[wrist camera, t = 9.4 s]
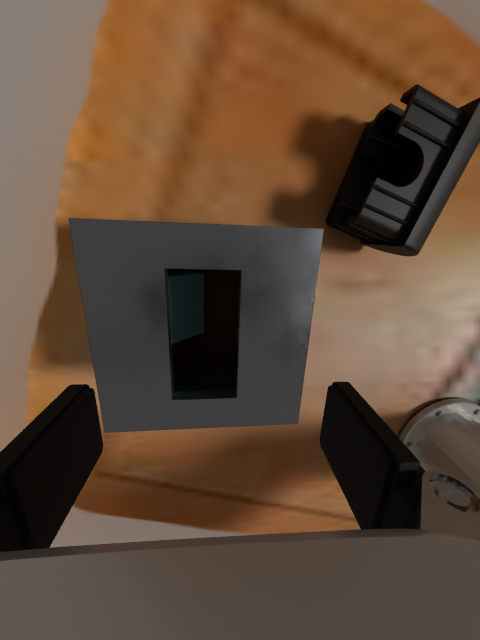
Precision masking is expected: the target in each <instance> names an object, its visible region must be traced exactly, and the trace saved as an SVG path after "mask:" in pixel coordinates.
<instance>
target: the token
mask: <svg viewBox="0 0 480 640" xmlns="http://www.w3.org/2000/svg"><path fill="white" fill-rule="evenodd" d="M167 273H168V291H169V309H170V327H171V344H174V343H177V342H179V341H182V340H185V339H188V338H191V337H194V336H196V335H199V334H202V333H204V273H203V272H198V271H193V270H184V271H174V272H167Z"/></svg>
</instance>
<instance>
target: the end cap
mask: <svg viewBox="0 0 480 640" xmlns="http://www.w3.org/2000/svg"><path fill="white" fill-rule="evenodd" d="M400 101H401V102H403V103H404V104H406V105H407V107H406V109H405V111H403V110H402V109H400V108H398V107H396V106H395V105H393V104H389V105H388V106H386V107H385V108H384V109H382V110H381V111H380V112H379V113H378V114H377V116H376V117H375V119H374V120H373V121H371V122H369V123H368V124H367V125H366V127H365V129H364V131H363V134H362V136H361V138H360V141H359V143H358V145H357V148H356V150H355V152H354V155H353V157H352V159H351V162H350V164H349V166H348V169H347V171H346V173H345V176H344V178H343V180H342V183H341V185H340V187H339V190H338V192H337V195H336V197H335V199H334V202H333V204H332V206H331V209H330V211H329V213H328V216H327V218H326V223H327V225H328V226H330V227H332V228H335V229H337V230H339V231H342V232H344V233H346V234H349V235H351V236H354V237H356V238H358V239H361V242H360V243H361V244H363V245H365V246H368V247H371V248H374V249H377V250H380V251H384V252H388V253H392V254H396V255H402V256H415V255H417V254H419V252H420V250H421V248H422V246H423V245H424V243H425V241H426V239H427V237H428V235H429V234H430V232H431V230H432V228H433V226H434V224H435V223H436V221H437V219H438V217H439V215H440V213H441V212H442V210H443V208H444V206H445V204H446V202H447V201H448V199H449V197H450V195H451V193H452V191H453V190H454V188H455V186H456V184H457V182H458V181H459V179H460V177H461V175H462V173H463V171H464V170H465V168H466V166H467V164H468V162H469V160H470V159H471V157H472V155H473V153H474V151H475V149H476V148H477V146H478V144H479V142H480V98H478V99H476V100H474V101H472V102H470V103H468V104H466V105H464V106H462V107H460V108H456V107H454V106H453V105H451V104H449V103H448V102H446V101H444V100H443V99H441V98H439V97H438V96H436V95H434V94H433V93H431V92H430V91H428V90H426V89H425V88H423V87H421V86H420V85H415V86H414V87H412V88H411V89H410V90H408V91H407V92H406V93H404V94H403V95H402V98H401V100H400Z"/></svg>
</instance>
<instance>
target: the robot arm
mask: <svg viewBox="0 0 480 640" xmlns="http://www.w3.org/2000/svg"><path fill="white" fill-rule="evenodd" d="M320 444H321V448H322V450H323V452H324V454H325V456H326V458H327V460H328V462H329V464H330V466H331V468H332V470H333V472H334V475H335V477H336V479H337V481H338V483H339V485H340V487H341V489H342V491H343V493H344V495H345V497H346V499H347V501H348V503H349V505H350V508H351V510H352V512H353V514H354V516H355V518H356V520H357V522H358V524H359V526H360V528H361V530H338V531H319V532H300V533H281V534H262V535H245V536H229V537H228V536H227V537H211V538H195V539H178V540H160V541H146V542H129V543H114V544H100V545H84V546H69V547H56V548H49V547H50V545H51V544H52V542H53V540H54V538H55V536H56V535H57V533H58V530H59V529H60V527H61V525H62V524H63V522H64V520H65V518H66V516H67V515H68V513H69V511H70V509H71V507H72V506H73V504H74V502H75V500H76V498H77V497H78V495H79V493H80V491H81V489H82V488H83V486H84V484H85V482H86V480H87V479H88V477H89V475H90V473H91V471H92V470H93V468H94V466H95V464H96V462H97V461H98V459H99V457H100V455H101V453H102V449H103V441H102V435H101V429H100V423H99V417H98V410H97V404H96V398H95V392H94V389H92V388H90V387H89V385H87V384H84V385H70V386H68V387H67V388H66V389H65V390H64V391H63V392H62V393H61V394H60V395H59V396H58V397H57V398H56V399H55V400H54V401H53V402H52V403H51V404H50V405H49V406H48V407H47V408H45V409H44V410H43V411H42V412H41V413H40V414H39V415H38V416H37V417H36V418H35V419H34V420H33V421H32V422H31V423H30V424H29V425H28V426H27V427H26V428H25V429H24V430H23V431H22V432H21V433H20V434H19V435H18V436H17V437H16V438H14V439H13V440H12V442H10V443H9V444H8V445H7V446H6V447H5V448H4V449H3V450H2V451H1V452H0V640H480V406H478V405H477V404H475V403H474V402H471V401H469V400H466V399H460V398H455V399H447V400H442V401H439V402H436V403H433V404H431V405H429V406H427V407H426V408H424V409H423V410H421V411H420V412H418V413H417V414H416V415H415V416H414V417H413V418H412V419H411V420H410V421H409V422H408V423H407V424H406V426H405V427H404V429H403V431H402V432H401V435H400V438H398V437H397V435H396V434H395V433H394V432H393V431H392V430H391V429H390V428H389V427H388V425H387V424H386V423H385V422H384V421H383V420H382V419H381V418H380V416H379V415H378V414H377V413H376V412H375V411H374V410H373V409H372V408H371V406H370V405H369V404H368V403H367V402H366V401H365V400H364V399H363V398H362V396H361V395H360V394H359V393H358V392H357V391H356V390H355V389H354V388H353V386H352V385H351V384H350V383H349V382H333V384H332V386H329V387H328V391H327V397H326V403H325V409H324V416H323V422H322V428H321V434H320Z"/></svg>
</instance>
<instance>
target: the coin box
mask: <svg viewBox="0 0 480 640" xmlns="http://www.w3.org/2000/svg"><path fill="white" fill-rule="evenodd" d="M68 219H69V225H70V231H71V237H72V243H73V248H74V254H75V260H76V266H77V272H78V278H79V284H80V290H81V296H82V302H83V308H84V314H85V319H86V325H87V331H88V337H89V343H90V349H91V355H92V361H93V367H94V373H95V379H96V385H97V391H98V396H99V402H100V408H101V414H102V420H103V426H104V432H105V433H107V432H129V431H151V430H173V429H195V428H217V427H239V426H261V425H283V424H298V419H299V411H300V404H301V396H302V389H303V381H304V374H305V366H306V359H307V351H308V344H309V336H310V329H311V321H312V314H313V306H314V299H315V292H316V284H317V277H318V269H319V262H320V254H321V247H322V239H323V232H324V229H316V228H293V227H269V226H245V225H221V224H198V223H174V222H150V221H126V220H102V219H79V218H68ZM167 268H169V269H213V270H240V280H239V309H238V337H237V354H195V355H172V345H171V327H170V309H169V291H168V273H167Z"/></svg>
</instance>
